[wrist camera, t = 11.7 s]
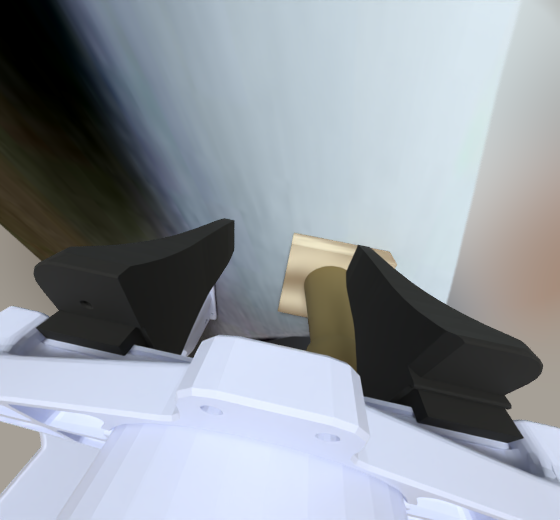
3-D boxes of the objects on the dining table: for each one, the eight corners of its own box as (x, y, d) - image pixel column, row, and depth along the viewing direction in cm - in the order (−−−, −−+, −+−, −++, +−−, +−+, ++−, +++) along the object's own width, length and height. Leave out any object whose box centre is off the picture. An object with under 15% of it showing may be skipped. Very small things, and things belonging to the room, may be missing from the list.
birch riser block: (354, 313, 29) (357, 328, 27) (280, 298, 29) (277, 311, 27) (389, 251, 22) (397, 264, 20) (294, 232, 23) (291, 243, 21)
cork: (331, 310, 25) (340, 412, 17) (293, 288, 24) (281, 385, 15) (368, 284, 22) (404, 394, 13) (327, 256, 21) (335, 357, 12)
